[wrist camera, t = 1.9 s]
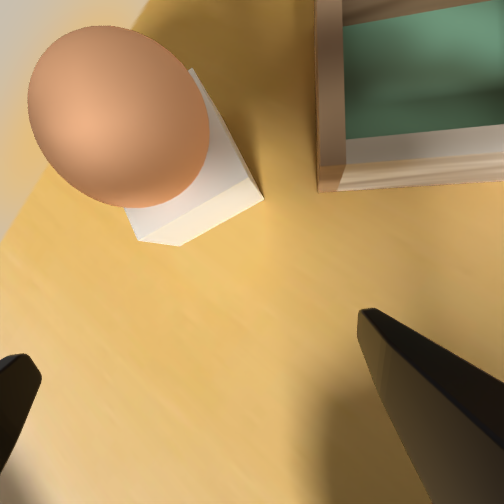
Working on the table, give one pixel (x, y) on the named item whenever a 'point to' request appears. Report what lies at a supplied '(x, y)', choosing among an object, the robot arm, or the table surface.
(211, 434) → the table surface
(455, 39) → the wooden crate
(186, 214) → the white square holder
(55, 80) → the ball
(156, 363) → the table surface
